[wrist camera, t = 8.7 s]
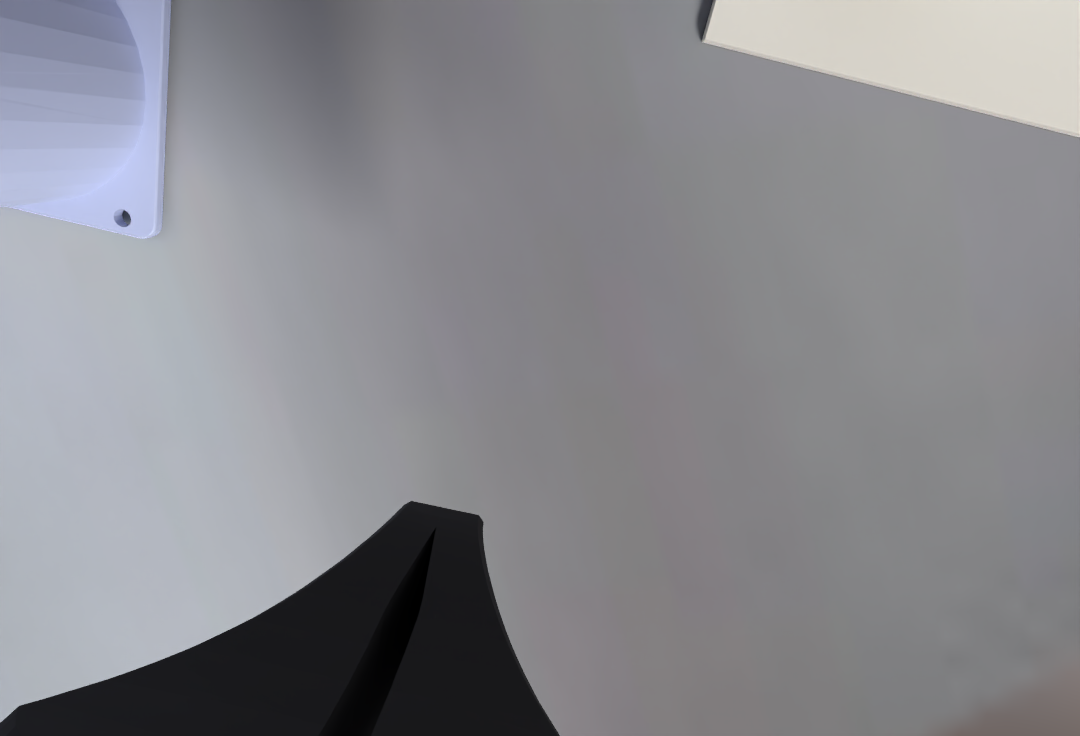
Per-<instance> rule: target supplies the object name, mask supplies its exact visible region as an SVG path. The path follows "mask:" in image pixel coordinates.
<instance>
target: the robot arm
mask: <svg viewBox="0 0 1080 736" xmlns="http://www.w3.org/2000/svg"><path fill="white" fill-rule="evenodd" d="M170 16H171V0H0V207H9V208H13V209H18V210H22V211H26V212H30V213H35V214H39V215H43V216H47V217H51V218H56V219H60V220H64V221H68V222H73V223H77V224H81V225H85V226H90V227H94V228H98V229H102V230H107V231H111V232H115V233H119V234H124V235H128V236H132V237H136V238H150V237H153V236H156V235H157V234H158V233H159V232H160V231H161V227H162V215H163V190H164V165H165V140H166V115H167V90H168V65H169V41H170ZM124 210H125V211H127V212H128V214H129V215H130V217H131V223H130V225H128V224H126V222H125V221H124V220H123V217H122V213H123V211H124ZM0 736H560V735H559V734H558V732H557V731H556V729H555V727H554V726H553V724H552V722H551V721H550V719H549V717H548V716H547V714H546V713H545V711H544V709H543V708H542V706H541V704H540V703H539V701H538V699H537V697H536V695H535V694H534V692H533V690H532V688H531V686H530V684H529V682H528V680H527V678H526V676H525V674H524V672H523V670H522V668H521V665H520V663H519V661H518V659H517V657H516V655H515V652H514V650H513V647H512V645H511V643H510V640H509V638H508V635H507V632H506V630H505V627H504V624H503V621H502V618H501V615H500V612H499V609H498V606H497V603H496V600H495V596H494V592H493V589H492V585H491V581H490V577H489V573H488V568H487V564H486V558H485V552H484V544H483V521H482V519H481V518H480V516H479V515H475V514H470V513H466V512H461V511H456V510H451V509H447V508H442V507H437V506H432V505H428V504H423V503H418V502H413V501H410V502H409V503H407V504H405V505H404V506H403V507H402V508H401V509H400V510H399V511H398V512H397V513H396V514H395V515H394V516H393V517H392V518H391V519H390V520H388V521H387V522H386V523H385V524H384V525H383V526H382V527H381V528H380V529H379V530H377V531H376V532H375V533H374V534H373V535H372V536H371V537H369V538H368V539H367V540H366V541H365V542H363V543H362V544H361V545H360V546H358V547H357V548H356V549H355V550H354V551H352V552H351V553H350V554H349V555H347V556H346V557H345V558H344V559H342V560H341V561H340V562H338V563H337V564H336V565H334V566H333V567H332V568H330V569H329V570H327V571H326V572H325V573H323V574H322V575H320V576H319V577H318V578H316V579H315V580H313V581H312V582H311V583H309V584H308V585H306V586H305V587H303V588H302V589H300V590H299V591H297V592H296V593H294V594H293V595H291V596H289V597H288V598H286V599H285V600H283V601H281V602H280V603H278V604H276V605H275V606H273V607H271V608H269V609H268V610H266V611H264V612H263V613H261V614H259V615H257V616H256V617H254V618H252V619H250V620H248V621H246V622H244V623H242V624H240V625H238V626H236V627H234V628H232V629H230V630H228V631H226V632H224V633H222V634H220V635H217V636H215V637H213V638H211V639H209V640H207V641H205V642H203V643H201V644H199V645H196V646H194V647H192V648H189V649H187V650H185V651H182V652H180V653H177V654H175V655H172V656H170V657H168V658H165V659H163V660H160V661H157V662H155V663H152V664H149V665H147V666H144V667H141V668H139V669H136V670H133V671H131V672H128V673H125V674H122V675H119V676H116V677H113V678H110V679H108V680H104V681H101V682H98V683H95V684H91V685H88V686H85V687H82V688H78V689H75V690H72V691H69V692H65V693H62V694H59V695H55V696H52V697H49V698H46V699H42V700H39V701H35V702H32V703H28V704H24V705H21V706H19V707H18V708H16V709H15V710H14V711H13V712H12V713H11V714H10V715H9V716H8V717H7V718H5V719H4V720H3V721H2V722H1V723H0Z"/></svg>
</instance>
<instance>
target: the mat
mask: <svg viewBox="0 0 1080 736" xmlns="http://www.w3.org/2000/svg"><path fill="white" fill-rule="evenodd" d="M702 42H703V43H707V44H711V45H715V46H719V47H723V48H727V49H731V50H735V51H739V52H743V53H747V54H751V55H755V56H759V57H763V58H767V59H771V60H774V61H778V62H782V63H786V64H790V65H794V66H798V67H802V68H806V69H810V70H814V71H818V72H822V73H826V74H830V75H834V76H838V77H842V78H846V79H850V80H854V81H858V82H862V83H866V84H870V85H874V86H878V87H881V88H885V89H889V90H893V91H897V92H901V93H905V94H909V95H913V96H917V97H921V98H925V99H929V100H933V101H937V102H941V103H945V104H949V105H953V106H957V107H961V108H965V109H969V110H973V111H977V112H981V113H984V114H988V115H992V116H996V117H1000V118H1004V119H1008V120H1012V121H1016V122H1020V123H1024V124H1028V125H1032V126H1036V127H1040V128H1044V129H1048V130H1052V131H1056V132H1060V133H1064V134H1068V135H1072V136H1076V137H1080V0H713V3H712V7H711V10H710V14H709V17H708V21H707V24H706V28H705V31H704V35H703V39H702Z"/></svg>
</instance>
